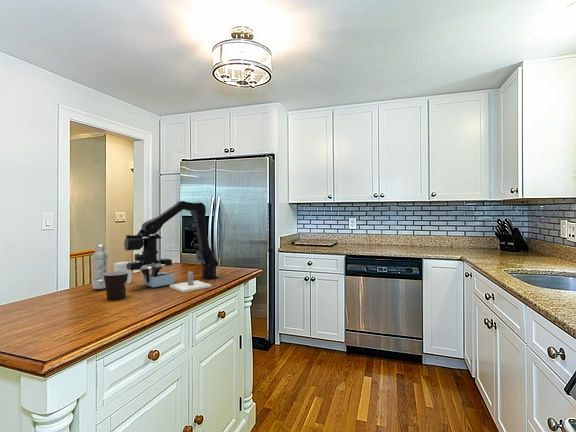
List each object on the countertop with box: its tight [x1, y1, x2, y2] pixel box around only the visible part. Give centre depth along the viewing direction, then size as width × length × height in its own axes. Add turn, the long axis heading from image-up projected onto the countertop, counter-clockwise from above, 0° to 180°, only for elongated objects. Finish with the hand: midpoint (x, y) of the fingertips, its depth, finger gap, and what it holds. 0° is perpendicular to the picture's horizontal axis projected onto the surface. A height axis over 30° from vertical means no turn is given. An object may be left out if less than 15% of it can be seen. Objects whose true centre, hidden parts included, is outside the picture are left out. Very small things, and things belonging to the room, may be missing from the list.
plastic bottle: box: [91, 243, 110, 291], centre depth 141 cm, size 6×7×20 cm
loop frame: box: [143, 271, 175, 288], centre depth 148 cm, size 10×10×4 cm
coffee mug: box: [104, 271, 128, 301], centre depth 128 cm, size 12×9×10 cm
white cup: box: [113, 261, 133, 285], centre depth 152 cm, size 8×8×10 cm
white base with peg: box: [168, 270, 212, 293], centre depth 145 cm, size 14×13×7 cm
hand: (150, 282), depth 145 cm, fingers closed on loop frame, 2 cm apart
